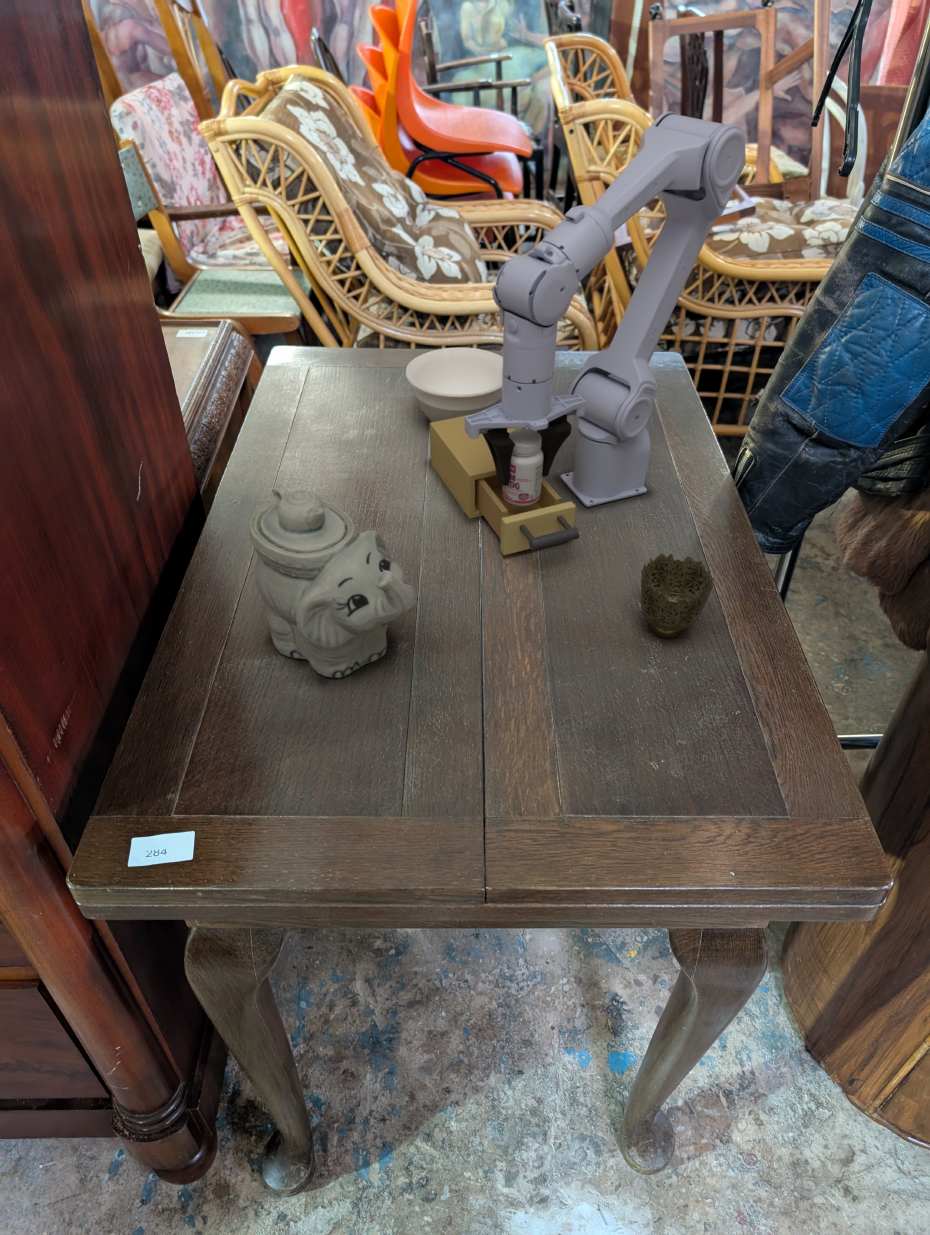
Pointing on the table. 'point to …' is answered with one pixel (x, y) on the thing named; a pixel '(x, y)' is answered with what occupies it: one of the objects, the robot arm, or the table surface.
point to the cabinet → (460, 460)
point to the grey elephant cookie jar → (325, 583)
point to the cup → (673, 593)
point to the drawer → (526, 517)
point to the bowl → (456, 381)
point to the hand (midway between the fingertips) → (522, 477)
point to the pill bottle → (525, 468)
